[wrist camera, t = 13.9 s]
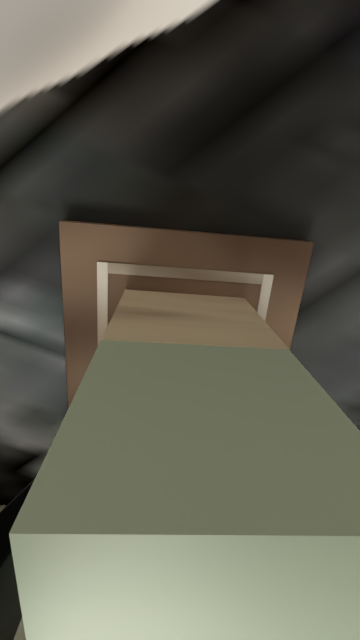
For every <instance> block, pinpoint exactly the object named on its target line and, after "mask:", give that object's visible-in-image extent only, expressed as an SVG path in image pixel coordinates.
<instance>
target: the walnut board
mask: <svg viewBox="0 0 360 640" xmlns="http://www.w3.org/2000/svg"><path fill="white" fill-rule="evenodd" d="M59 234H60V254H61V274H62V295H63V315H64V335H65V355H66V375H67V396H68V408H69V406H70V404H71V402H72V400H73V398H74V396H75V394H76V392H77V389H78V387H79V385H80V383H81V381H82V379H83V377H84V375H85V373H86V370H87V368H88V366H89V364H90V362H91V360H92V358H93V356H94V354H95V352H96V349H97V347H98V345H99V343H100V341H101V340H102V337H103V335H104V333H105V331H106V329H107V327H108V325H109V323H110V321H111V318H112V316H113V314H114V312H115V310H116V308H117V306H118V304H119V301H120V299H121V297H122V295H123V293H124V291H125V289H126V290H140V291H154V292H168V293H182V294H196V295H210V296H224V297H238V298H245V299H246V300H247V301H248V303H249V304H250V305H251V306H252V307H253V308H254V309H255V311H256V312H257V313H258V314H259V315H260V316H261V317H262V318H263V320H264V321H265V322H266V323H267V324H268V325H269V326H270V328H271V329H272V330H273V331H274V332H275V333H276V334H277V336H278V337H279V338H280V339H281V340H282V341H283V342H284V343H285V345H286V346H287V347H288V348H289V349H290V346H291V342H292V337H293V333H294V329H295V324H296V320H297V316H298V311H299V307H300V302H301V298H302V294H303V289H304V285H305V280H306V276H307V272H308V267H309V263H310V259H311V254H312V250H313V245H314V242H310V241H306V240H295V239H283V238H271V237H259V236H247V235H235V234H223V233H211V232H199V231H187V230H175V229H164V228H152V227H140V226H128V225H116V224H104V223H92V222H80V221H68V220H64V221H59Z"/></svg>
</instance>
